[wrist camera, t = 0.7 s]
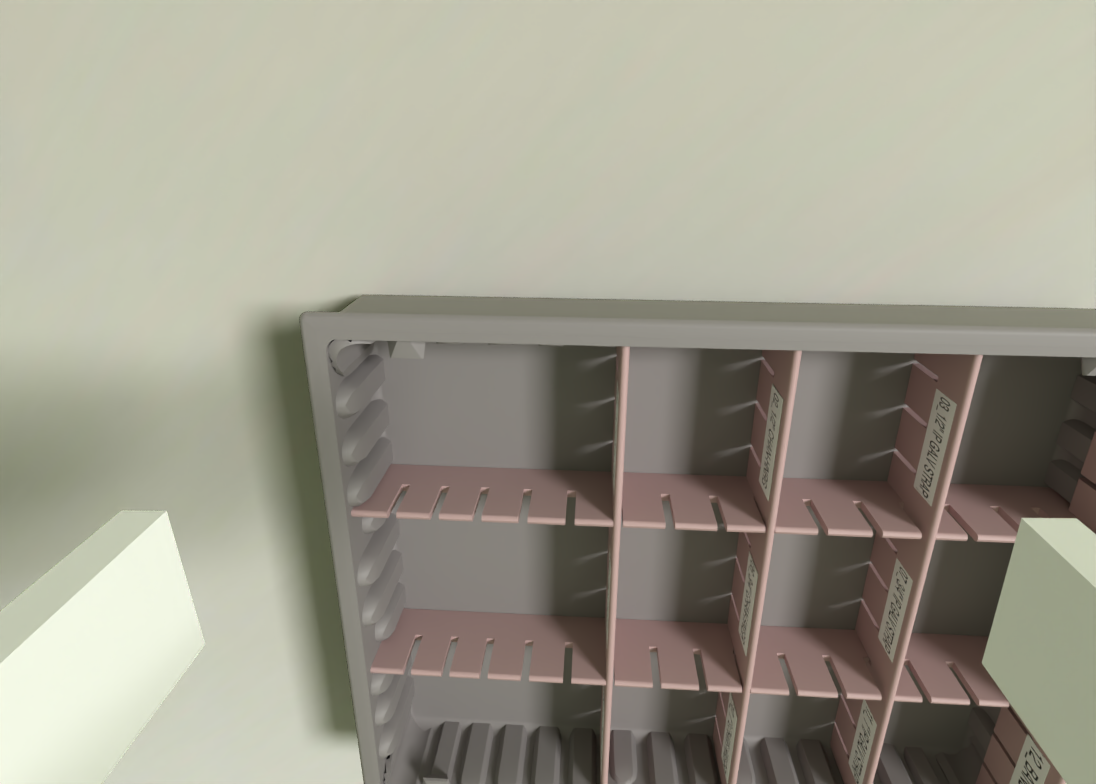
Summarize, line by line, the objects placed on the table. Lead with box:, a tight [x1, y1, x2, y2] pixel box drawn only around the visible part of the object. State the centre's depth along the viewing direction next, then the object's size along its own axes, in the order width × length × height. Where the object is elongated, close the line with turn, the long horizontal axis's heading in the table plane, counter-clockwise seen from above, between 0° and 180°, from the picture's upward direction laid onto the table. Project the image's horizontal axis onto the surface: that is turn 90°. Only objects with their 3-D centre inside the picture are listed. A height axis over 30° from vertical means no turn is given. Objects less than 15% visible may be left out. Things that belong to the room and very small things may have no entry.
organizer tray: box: [299, 295, 1096, 784], centre depth 38 cm, size 32×40×10 cm
